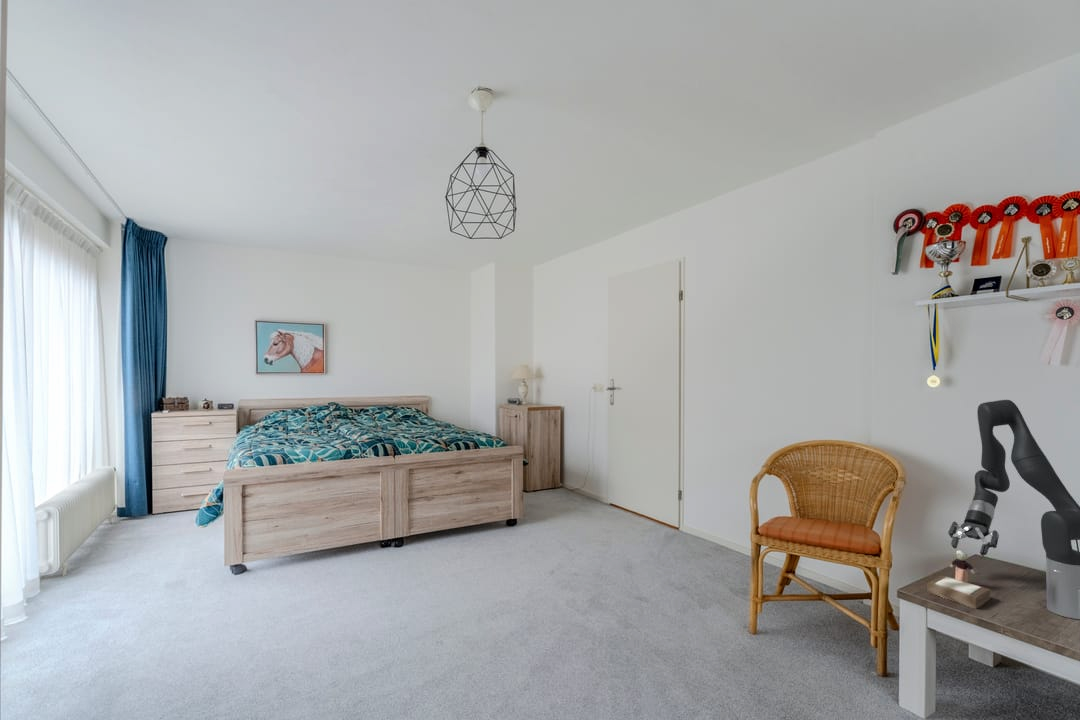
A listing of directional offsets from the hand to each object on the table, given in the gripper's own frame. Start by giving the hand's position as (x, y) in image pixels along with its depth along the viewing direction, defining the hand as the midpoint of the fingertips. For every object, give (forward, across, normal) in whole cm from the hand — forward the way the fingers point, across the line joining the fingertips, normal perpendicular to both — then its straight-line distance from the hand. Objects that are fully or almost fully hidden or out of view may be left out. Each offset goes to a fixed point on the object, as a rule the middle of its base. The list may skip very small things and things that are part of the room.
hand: (967, 550), depth 193 cm
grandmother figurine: (+12, 0, +5) cm, 13 cm away
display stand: (+20, +3, -4) cm, 21 cm away
